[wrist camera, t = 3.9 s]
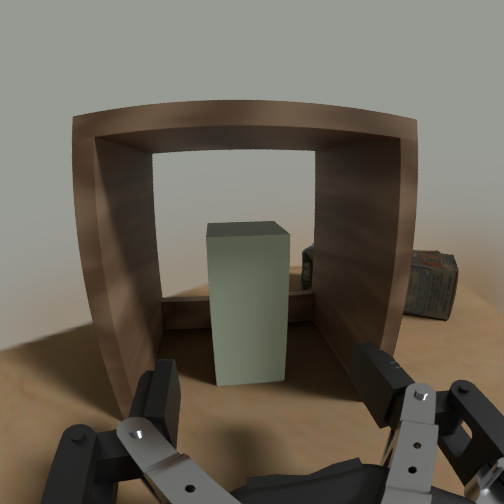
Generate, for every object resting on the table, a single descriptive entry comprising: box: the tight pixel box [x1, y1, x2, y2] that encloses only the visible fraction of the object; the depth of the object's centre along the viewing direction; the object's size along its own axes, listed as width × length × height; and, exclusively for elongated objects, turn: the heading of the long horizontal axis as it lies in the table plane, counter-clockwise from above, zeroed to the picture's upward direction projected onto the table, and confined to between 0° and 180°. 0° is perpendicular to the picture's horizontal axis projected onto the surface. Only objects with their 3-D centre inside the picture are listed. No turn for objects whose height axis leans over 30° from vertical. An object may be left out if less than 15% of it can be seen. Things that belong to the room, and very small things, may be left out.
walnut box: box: [72, 100, 418, 420], centre depth 21 cm, size 17×14×18 cm
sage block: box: [206, 221, 290, 386], centre depth 22 cm, size 5×5×11 cm
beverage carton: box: [301, 243, 458, 320], centre depth 34 cm, size 8×19×7 cm, turn 58°
